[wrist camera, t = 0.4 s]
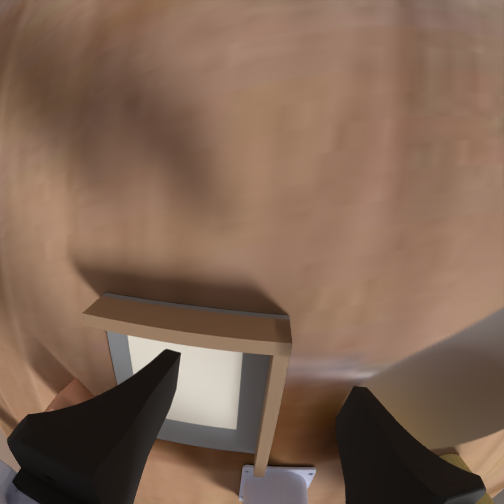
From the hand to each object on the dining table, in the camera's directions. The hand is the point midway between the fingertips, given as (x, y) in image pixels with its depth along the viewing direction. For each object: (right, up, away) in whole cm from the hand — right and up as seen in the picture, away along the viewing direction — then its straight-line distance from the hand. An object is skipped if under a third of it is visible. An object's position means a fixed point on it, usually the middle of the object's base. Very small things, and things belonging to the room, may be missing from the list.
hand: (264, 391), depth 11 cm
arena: (-5, -6, +12) cm, 15 cm away
